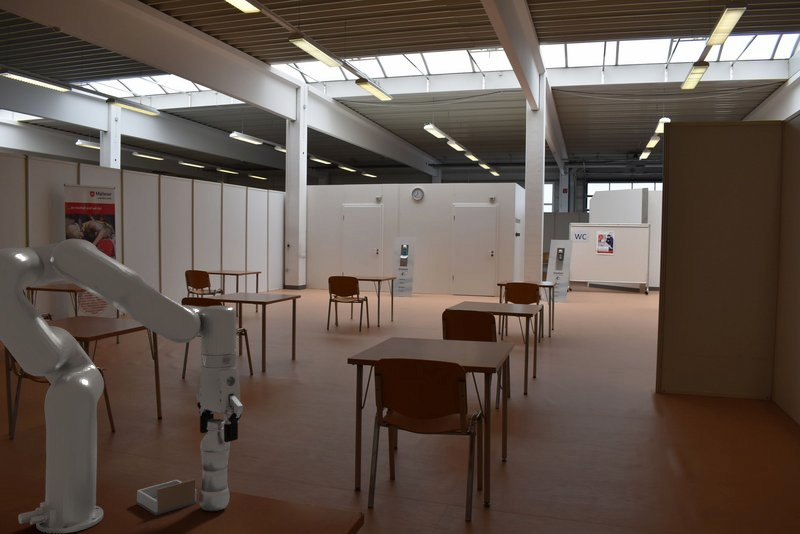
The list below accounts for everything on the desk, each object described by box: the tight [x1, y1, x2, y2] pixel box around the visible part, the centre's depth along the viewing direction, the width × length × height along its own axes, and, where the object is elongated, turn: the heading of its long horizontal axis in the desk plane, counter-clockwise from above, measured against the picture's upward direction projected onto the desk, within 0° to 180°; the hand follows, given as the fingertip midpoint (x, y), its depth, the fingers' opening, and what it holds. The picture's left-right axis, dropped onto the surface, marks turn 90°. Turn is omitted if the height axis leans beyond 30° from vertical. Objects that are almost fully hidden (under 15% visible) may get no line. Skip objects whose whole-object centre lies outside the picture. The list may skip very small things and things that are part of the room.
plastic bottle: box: [198, 418, 231, 512], centre depth 140 cm, size 6×7×20 cm
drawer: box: [136, 478, 198, 516], centre depth 142 cm, size 10×9×6 cm
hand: (218, 436), depth 140 cm, fingers open, 9 cm apart
